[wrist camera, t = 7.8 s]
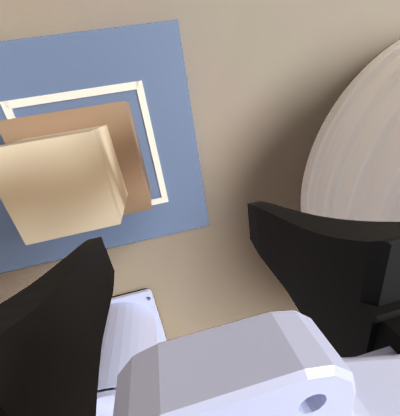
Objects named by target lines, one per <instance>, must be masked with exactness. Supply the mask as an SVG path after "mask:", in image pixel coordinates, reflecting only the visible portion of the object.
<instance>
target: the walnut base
mask: <svg viewBox="0 0 400 416" xmlns="http://www.w3.org/2000/svg"><path fill="white" fill-rule="evenodd" d="M101 125H107V127H108V130H109V133H110V137H111V140H112V143H113V147H114V150H115V153H116V157H117V160H118V163H119V167H120V170H121V173H122V177H123V180H124V183H125V187H126V190H127V193H128V196H127V200H126V204H125V208H124V213H123V215H127V214H131V213H136V212H141V211H145V210H150V209H152V203H151V188H150V184H149V180H148V176H147V172H146V168H145V164H144V160H143V156H142V152H141V148H140V144H139V140H138V136H137V132H136V128H135V124H134V120H133V116H132V112H131V108H130V104H129V102H126V101H120V102H114V103H107V104H101V105H95V106H89V107H82V108H76V109H70V110H63V111H57V112H51V113H45V114H38V115H32V116H26V117H19V118H13V119H7V120H1V121H0V134H1V136H2V138H3V140H4V142H5V144H7V143H11V142H15V141H19V140H23V139H27V138H33V137H38V136H44V135H50V134H55V133H61V132H67V131H73V130H78V129H84V128H90V127H95V126H101Z"/></svg>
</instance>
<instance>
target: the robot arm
mask: <svg viewBox="0 0 400 416" xmlns="http://www.w3.org/2000/svg"><path fill="white" fill-rule="evenodd" d="M248 215H249V229H250V239H251V241H252V243H253V245H254V247H255V248H256V250H257V252H258V254H259V255H260V256H261V258H262V259H263V260H264V262H265V263H266V264H267V266H268V267H269V268H270V269H271V271H272V272H273V273H274V275H275V276H276V277H277V278H278V280H279V281H280V282H281V284H282V285H283V286H284V288H285V289H286V291H287V292H288V293H289V295H290V297H291V298H292V300H293V302H294V303H295V305H296V306H297V308H298V310H299V311H300V313H299V312H297V311H295V310H286V311H272V312H266V313H263V314H259V315H255V316H252V317H248V318H245V319H241V320H238V321H234V322H231V323H227V324H224V325H220V326H217V327H213V328H209V329H206V330H202V331H199V332H195V333H192V334H188V335H185V336H181V337H178V338H174V339H171V340H166V337H165V333H164V330H163V327H162V324H161V320H160V317H159V314H158V311H157V307H156V304H155V301H154V297H153V294H152V291H151V290H150V289H145V290H141V291H137V292H133V293H129V294H125V295H121V296H117V297H113V298H112V294H113V286H114V269H113V267H112V264H111V261H110V259H109V256H108V253H107V251H106V248H105V245H104V243H103V240H102V237H97V238H93V239H88V240H86V241H85V242H83V243H82V244H81V245H80V246H78V247H77V248H76V249H75V250H74V251H72V252H71V253H70V254H69V255H68V256H66V257H65V258H64V259H63V260H62V261H60V262H59V263H58V264H57V265H56V266H54V267H53V268H52V269H50V270H49V271H48V272H47V273H45V274H44V275H43V276H41V277H40V278H39V279H38V280H36V281H35V282H33V283H32V284H31V285H29V286H28V287H26V288H25V289H23V290H22V291H20V292H19V293H17V294H16V295H14V296H13V297H11V298H9V299H8V300H6V301H4V302H3V303H1V304H0V416H400V222H375V221H356V220H344V219H336V218H329V217H323V216H317V215H312V214H308V213H303V212H299V211H295V210H291V209H288V208H284V207H281V206H277V205H274V204H270V203H266V202H260V201H259V202H254V203H250V204H248ZM146 297H150V298H146Z"/></svg>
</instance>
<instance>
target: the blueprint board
mask: <svg viewBox="0 0 400 416" xmlns="http://www.w3.org/2000/svg"><path fill="white" fill-rule="evenodd" d="M120 101H126V102H129V104H130V108H131V112H132V116H133V120H134V124H135V128H136V132H137V136H138V140H139V144H140V148H141V152H142V156H143V160H144V164H145V168H146V172H147V176H148V180H149V184H150V188H151V203H152V209H150V210H145V211H141V212H136V213H131V214H127V215H123V217H122V221H121V224H119V225H115V226H110V227H106V228H101V229H97V230H92V231H88V232H83V233H79V234H74V235H70V236H65V237H61V238H57V239H52V240H48V241H43V242H39V243H34V244H30V245H25V243H24V241H23V239H22V237H21V235H20V234H19V232H18V230H17V228H16V226H15V224H14V222H13V221H12V219H11V217H10V215H9V213H8V211H7V210H6V208H5V206H4V204H3V202H2V200H1V198H0V273H4V272H8V271H12V270H17V269H21V268H25V267H30V266H34V265H38V264H43V263H47V262H52V261H56V260H60V259H64V258H65V257H66V256H68V255H69V254H70V253H71V252H72V251H74V250H75V249H76V248H77V247H78V246H80V245H81V244H82V243H83V242H85V241H86V240H88V239H93V238H97V237H102V240H103V243H104V245H105V248H106V249H108V248H112V247H117V246H121V245H125V244H130V243H134V242H139V241H143V240H147V239H152V238H156V237H160V236H165V235H169V234H173V233H178V232H182V231H186V230H191V229H195V228H199V227H204V226H208V225H209V221H208V215H207V208H206V202H205V195H204V189H203V182H202V175H201V169H200V162H199V156H198V149H197V142H196V136H195V129H194V123H193V116H192V110H191V103H190V96H189V90H188V83H187V77H186V70H185V63H184V57H183V50H182V44H181V37H180V31H179V24H178V20H171V21H163V22H155V23H146V24H138V25H130V26H122V27H114V28H106V29H97V30H89V31H81V32H73V33H65V34H57V35H48V36H40V37H32V38H24V39H16V40H8V41H0V121H1V120H7V119H13V118H19V117H26V116H32V115H38V114H45V113H51V112H57V111H63V110H70V109H76V108H82V107H89V106H95V105H101V104H107V103H114V102H120ZM3 144H5V142H4V140H3V138H2V136H1V134H0V145H3Z"/></svg>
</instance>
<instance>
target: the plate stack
mask: <svg viewBox="0 0 400 416" xmlns="http://www.w3.org/2000/svg"><path fill="white" fill-rule="evenodd" d="M301 212H303V213H308V214H312V215H317V216H323V217H329V218H336V219H344V220H356V221H375V222H400V39H399V40H398V41H396V42H395V43H393V44H392V45H390V46H389V47H388V48H386V49H385V50H384V51H383V52H381V53H380V54H379V55H378V56H377V57H375V58H374V59H373V60H372V61H371V62H370V63H369V64H368V65H367V66H366V67H365V68H364V69H363V70H362V71H361V72H360V73H359V74H358V75H357V76H356V77H355V78H354V79H353V80H352V82H351V83H350V84H349V85H348V86H347V88H346V89H345V90H344V92H343V93H342V94H341V96H340V97H339V98H338V100H337V101H336V103H335V104H334V106H333V107H332V109H331V110H330V112H329V114H328V115H327V117H326V119H325V121H324V122H323V124H322V126H321V128H320V130H319V132H318V134H317V136H316V139H315V141H314V143H313V146H312V148H311V151H310V154H309V157H308V160H307V164H306V167H305V171H304V176H303V181H302V188H301Z"/></svg>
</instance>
